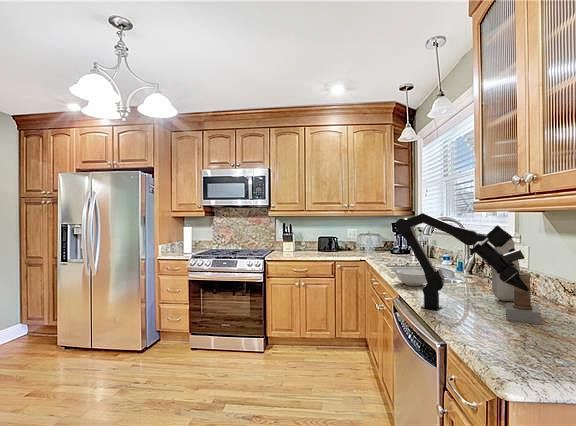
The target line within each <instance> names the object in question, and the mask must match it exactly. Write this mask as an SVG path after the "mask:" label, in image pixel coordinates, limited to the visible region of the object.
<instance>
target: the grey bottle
mask: <svg viewBox="0 0 576 426" xmlns="http://www.w3.org/2000/svg"><path fill="white" fill-rule="evenodd" d="M493 248H494V249H495V250H496V251H498V252H499V253H502V254H503V255H504V254H506V253H509V249H511V248H514V249H515V250H516V248H515V241H514V238H512V239H511V240H510V241H508V242H507V243H506V244H505V245H503V246H502V247H499V246H498V247H495V246H494V247H493ZM513 263H514V264H515V265H516V268H517V269H518V270H519V272H520V271H521V269H520V263H519V260H516V261H513ZM515 265H514V266H515ZM490 270H491V271H490V273H491V275H490V276H491V291H492V293H493V295H494V297H495V298H496V299H497V300H500V301H503V302H512V301H513V302H514V286H512V285H510V284H507V283H505V282H503V281H502V280H501V279H500V278H499V274H498V273H496V271H495V270H494V269H493V268H492V267H491V266H490Z"/></svg>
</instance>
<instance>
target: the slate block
mask: <svg viewBox="0 0 576 426" xmlns="http://www.w3.org/2000/svg"><path fill="white" fill-rule="evenodd" d="M513 303H514V302H506V304H505V306H506V307H505V317H506V321H510V322H511V321H512V322H520V323H525V324H526V323H527V324H535V325H542V316H541V314H542V313H541V310H540V306H539V305H532V304H531V305H532V309H530V310H525V309H518V308H514V307H513V306H512V304H513Z"/></svg>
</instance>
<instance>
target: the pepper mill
mask: <svg viewBox="0 0 576 426" xmlns="http://www.w3.org/2000/svg"><path fill="white" fill-rule="evenodd" d="M519 277H520V278H521V280H522V281H523V282H524V283H525V285H526V286H527V287H528V288H529V291H524V290H522V289H520V288H517V287H515V286H514V300H513V302H512V303H513V304H512V306H513V307H514V308H518V309H525V310H530V309H532V304H531V302H532V301H531V299H532V298H531V275H530V274H529V273H528V272H524V271H523V270H520V272H519Z"/></svg>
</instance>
